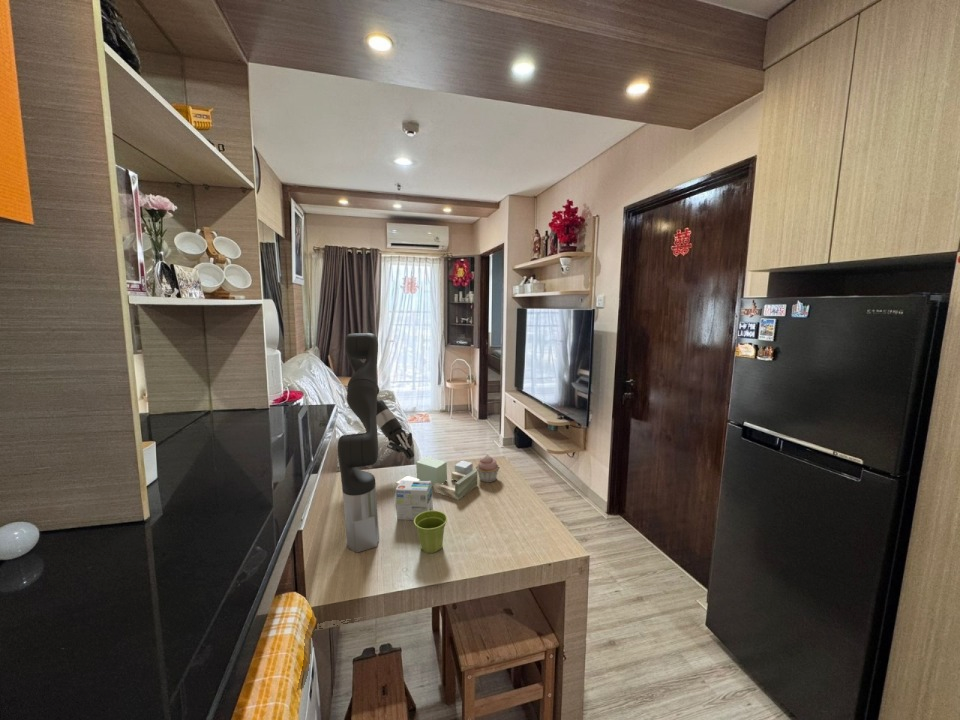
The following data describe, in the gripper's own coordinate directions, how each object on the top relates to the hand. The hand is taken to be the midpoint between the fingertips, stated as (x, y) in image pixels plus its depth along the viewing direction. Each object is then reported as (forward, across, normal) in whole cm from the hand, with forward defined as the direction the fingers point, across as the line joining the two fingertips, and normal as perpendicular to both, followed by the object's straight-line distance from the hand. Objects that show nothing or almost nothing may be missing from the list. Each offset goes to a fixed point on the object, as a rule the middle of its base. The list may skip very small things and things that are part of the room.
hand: (412, 457), depth 158 cm
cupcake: (+25, +12, -14) cm, 31 cm away
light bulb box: (+19, -21, -9) cm, 30 cm away
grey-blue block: (+18, +10, -8) cm, 22 cm away
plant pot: (+30, -31, -20) cm, 47 cm away
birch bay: (+20, 0, -10) cm, 23 cm away
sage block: (+12, 0, -2) cm, 12 cm away
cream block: (+12, -13, -2) cm, 18 cm away
